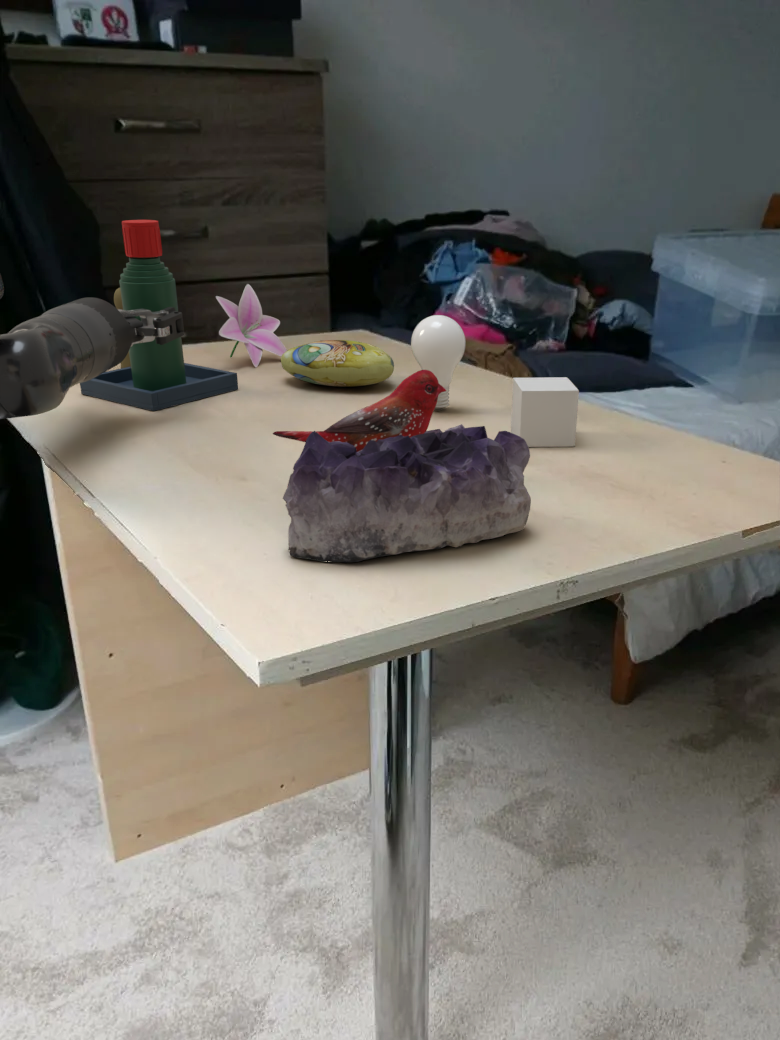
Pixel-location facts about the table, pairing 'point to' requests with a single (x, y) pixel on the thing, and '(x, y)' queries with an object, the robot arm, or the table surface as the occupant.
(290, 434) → the decorative bird figurine
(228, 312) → the lily
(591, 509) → the table surface
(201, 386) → the tray
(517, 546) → the table surface
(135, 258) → the bottle
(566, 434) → the white cube
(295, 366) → the painted stone
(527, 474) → the table surface
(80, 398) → the table surface
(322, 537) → the geode
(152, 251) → the cap
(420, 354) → the lightbulb
